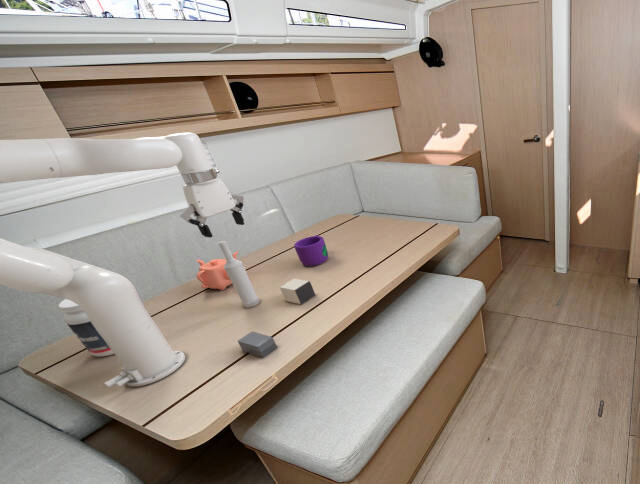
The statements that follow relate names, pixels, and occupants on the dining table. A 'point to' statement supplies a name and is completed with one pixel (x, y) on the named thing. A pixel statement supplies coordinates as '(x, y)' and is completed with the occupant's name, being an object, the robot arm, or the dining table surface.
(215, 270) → the teapot
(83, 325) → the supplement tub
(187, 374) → the dining table surface
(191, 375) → the dining table surface
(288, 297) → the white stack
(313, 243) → the mug
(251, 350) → the gray rectangular block
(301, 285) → the white book
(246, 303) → the bottle
